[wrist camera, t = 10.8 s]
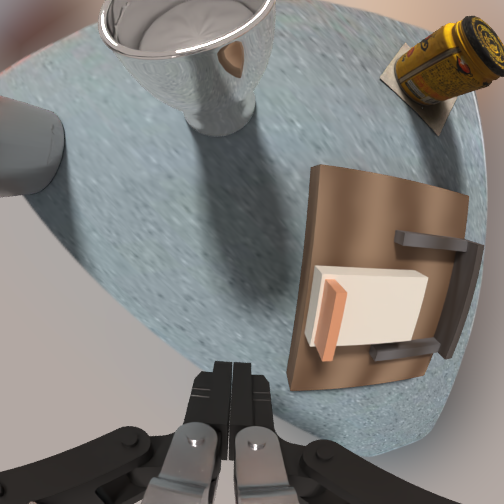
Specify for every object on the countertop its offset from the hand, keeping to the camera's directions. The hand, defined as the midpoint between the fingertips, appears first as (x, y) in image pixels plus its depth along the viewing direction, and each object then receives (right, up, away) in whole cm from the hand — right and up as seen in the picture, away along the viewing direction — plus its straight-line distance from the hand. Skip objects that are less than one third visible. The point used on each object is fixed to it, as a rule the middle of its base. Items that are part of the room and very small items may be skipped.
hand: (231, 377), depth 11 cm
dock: (+13, +2, +13) cm, 19 cm away
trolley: (+10, +2, +10) cm, 14 cm away
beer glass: (-2, +18, +10) cm, 20 cm away
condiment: (+18, +22, +9) cm, 30 cm away
